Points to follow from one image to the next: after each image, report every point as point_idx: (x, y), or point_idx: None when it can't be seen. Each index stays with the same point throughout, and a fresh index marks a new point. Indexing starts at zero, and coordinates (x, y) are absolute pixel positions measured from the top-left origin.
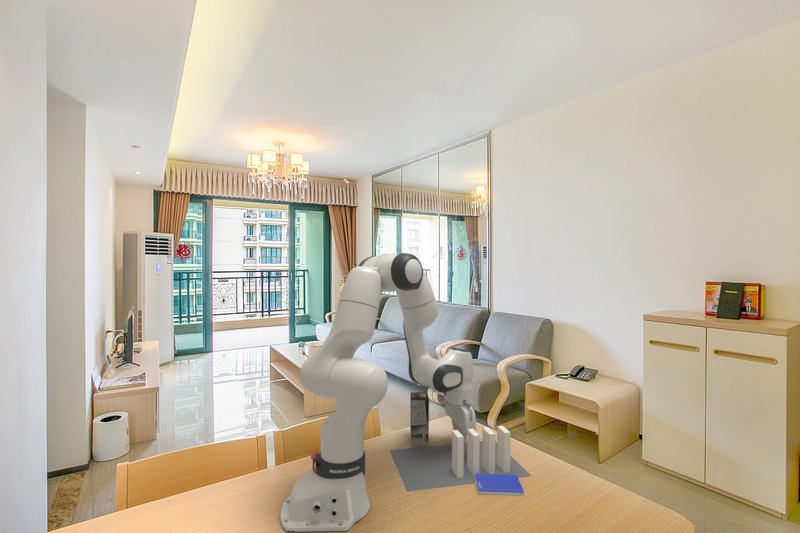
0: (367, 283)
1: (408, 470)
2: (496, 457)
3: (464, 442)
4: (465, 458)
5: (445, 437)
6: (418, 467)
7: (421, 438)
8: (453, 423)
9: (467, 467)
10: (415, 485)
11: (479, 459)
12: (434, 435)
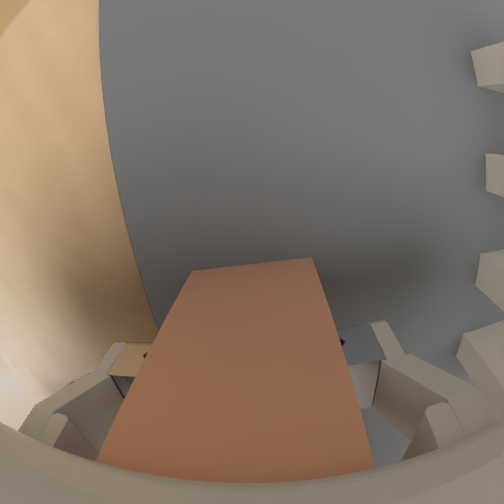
0: None
1: (386, 463)
2: (396, 36)
3: (326, 307)
4: (385, 270)
5: (63, 311)
6: (382, 449)
7: None
8: (101, 441)
9: (480, 286)
10: None
11: (419, 173)
12: (60, 353)
